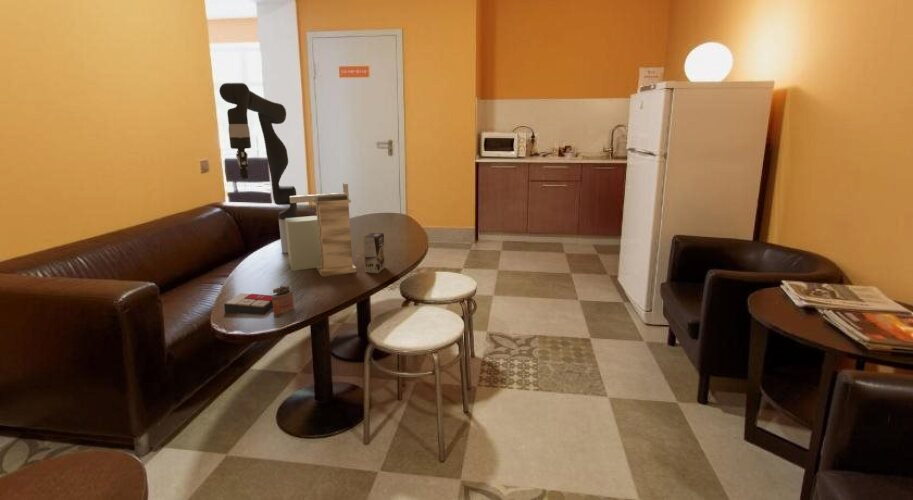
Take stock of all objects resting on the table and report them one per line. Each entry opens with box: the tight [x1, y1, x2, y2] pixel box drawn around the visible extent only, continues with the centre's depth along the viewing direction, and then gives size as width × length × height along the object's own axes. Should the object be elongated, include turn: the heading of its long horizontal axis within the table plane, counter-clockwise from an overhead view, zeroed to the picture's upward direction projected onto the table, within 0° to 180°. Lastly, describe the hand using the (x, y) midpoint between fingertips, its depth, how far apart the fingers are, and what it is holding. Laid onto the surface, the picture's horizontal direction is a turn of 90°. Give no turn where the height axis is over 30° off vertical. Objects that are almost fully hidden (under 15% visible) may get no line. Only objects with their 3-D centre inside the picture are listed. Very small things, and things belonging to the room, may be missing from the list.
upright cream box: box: [285, 215, 321, 272], centre depth 228 cm, size 10×16×22 cm, turn 115°
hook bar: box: [289, 182, 350, 204], centre depth 211 cm, size 3×24×6 cm, turn 115°
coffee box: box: [363, 232, 386, 274], centre depth 221 cm, size 9×6×16 cm
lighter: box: [271, 284, 296, 319], centre depth 173 cm, size 8×3×10 cm, turn 145°
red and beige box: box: [223, 292, 273, 316], centre depth 180 cm, size 11×4×15 cm
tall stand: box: [313, 196, 357, 277], centre depth 218 cm, size 11×15×34 cm
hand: (244, 177), depth 200 cm, fingers open, 8 cm apart
